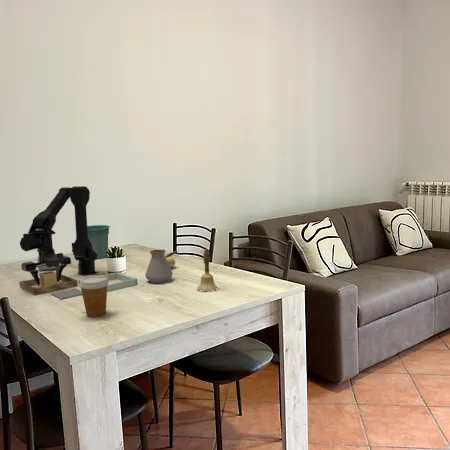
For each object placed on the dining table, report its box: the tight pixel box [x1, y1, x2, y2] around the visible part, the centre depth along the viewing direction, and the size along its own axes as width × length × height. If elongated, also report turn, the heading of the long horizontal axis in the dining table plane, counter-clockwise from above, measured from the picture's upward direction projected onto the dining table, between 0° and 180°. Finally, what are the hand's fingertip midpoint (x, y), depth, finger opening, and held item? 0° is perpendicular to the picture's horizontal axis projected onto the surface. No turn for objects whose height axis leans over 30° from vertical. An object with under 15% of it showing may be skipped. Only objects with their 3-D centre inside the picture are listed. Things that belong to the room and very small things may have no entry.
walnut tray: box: [19, 273, 79, 296], centre depth 202 cm, size 18×17×2 cm
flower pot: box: [87, 224, 111, 260], centre depth 259 cm, size 16×16×16 cm
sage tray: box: [78, 272, 138, 293], centre depth 201 cm, size 18×17×2 cm
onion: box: [164, 253, 176, 269], centre depth 228 cm, size 8×8×7 cm
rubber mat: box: [50, 287, 83, 300], centre depth 190 cm, size 10×10×1 cm
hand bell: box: [196, 248, 219, 292], centre depth 190 cm, size 8×8×16 cm
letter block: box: [38, 270, 58, 287], centre depth 202 cm, size 5×5×6 cm
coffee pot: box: [144, 249, 179, 284], centre depth 201 cm, size 21×12×15 cm, turn 37°
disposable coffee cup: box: [78, 275, 110, 318], centre depth 163 cm, size 10×10×12 cm
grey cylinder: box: [37, 255, 56, 272], centre depth 235 cm, size 11×8×8 cm
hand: (48, 283), depth 202 cm, fingers open, 8 cm apart
